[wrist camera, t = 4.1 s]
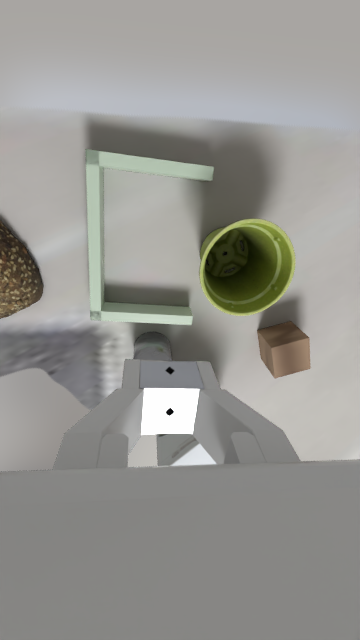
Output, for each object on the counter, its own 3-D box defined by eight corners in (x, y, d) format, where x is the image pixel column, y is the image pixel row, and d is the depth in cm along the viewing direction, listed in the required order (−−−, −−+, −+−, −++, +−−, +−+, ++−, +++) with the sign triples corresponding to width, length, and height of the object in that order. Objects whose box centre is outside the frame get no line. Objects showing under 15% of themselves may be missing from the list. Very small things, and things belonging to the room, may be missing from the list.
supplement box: (187, 370, 41) (203, 440, 29) (219, 395, 44) (244, 468, 32) (153, 400, 42) (156, 476, 31) (185, 422, 45) (199, 500, 34)
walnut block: (290, 320, 39) (309, 337, 35) (292, 349, 41) (310, 368, 37) (256, 330, 39) (271, 348, 35) (260, 358, 41) (274, 378, 37)
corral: (207, 169, 30) (214, 166, 27) (188, 315, 37) (191, 325, 34) (91, 153, 28) (85, 149, 25) (94, 310, 35) (90, 320, 32)
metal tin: (171, 332, 38) (175, 351, 33) (168, 362, 40) (171, 384, 35) (134, 330, 37) (133, 350, 33) (133, 361, 39) (132, 384, 35)
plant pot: (248, 197, 31) (282, 200, 24) (269, 270, 35) (304, 292, 28) (174, 232, 32) (184, 246, 24) (203, 300, 36) (219, 330, 28)
